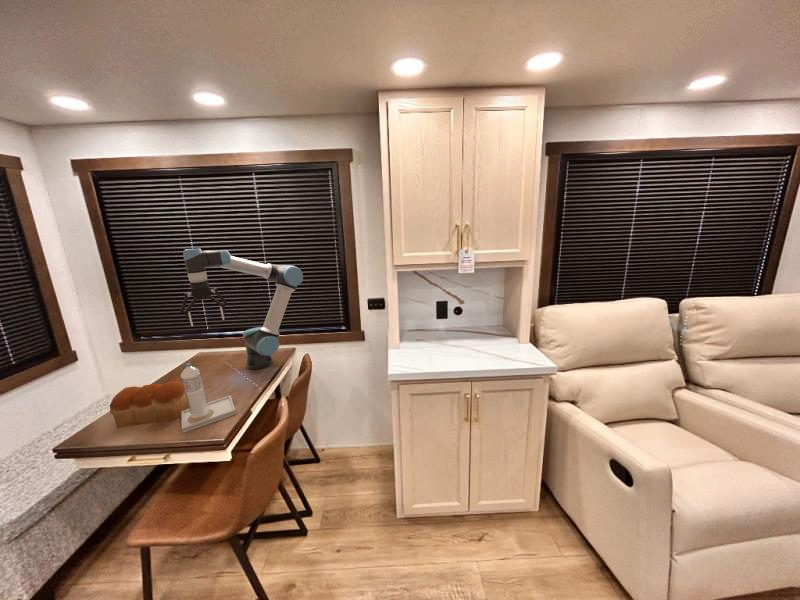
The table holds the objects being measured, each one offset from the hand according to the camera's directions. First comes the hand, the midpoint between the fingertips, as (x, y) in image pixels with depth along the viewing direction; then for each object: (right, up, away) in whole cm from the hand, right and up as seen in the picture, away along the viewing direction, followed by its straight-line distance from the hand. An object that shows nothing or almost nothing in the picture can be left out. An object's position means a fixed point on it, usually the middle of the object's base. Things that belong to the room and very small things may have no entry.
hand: (208, 322), depth 153 cm
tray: (+10, -41, -15) cm, 45 cm away
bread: (-16, -42, -12) cm, 47 cm away
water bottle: (+8, -40, -17) cm, 45 cm away
